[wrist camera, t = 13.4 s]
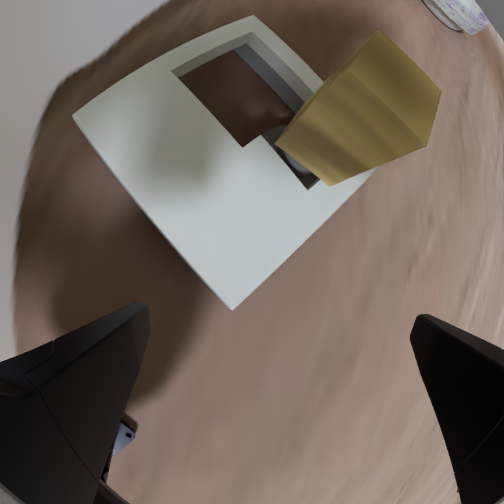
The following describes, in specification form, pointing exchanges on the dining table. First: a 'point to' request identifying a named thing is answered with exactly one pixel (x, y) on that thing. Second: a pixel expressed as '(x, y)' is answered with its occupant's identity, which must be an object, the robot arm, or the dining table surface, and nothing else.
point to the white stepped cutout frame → (213, 162)
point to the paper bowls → (459, 14)
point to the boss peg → (359, 116)
